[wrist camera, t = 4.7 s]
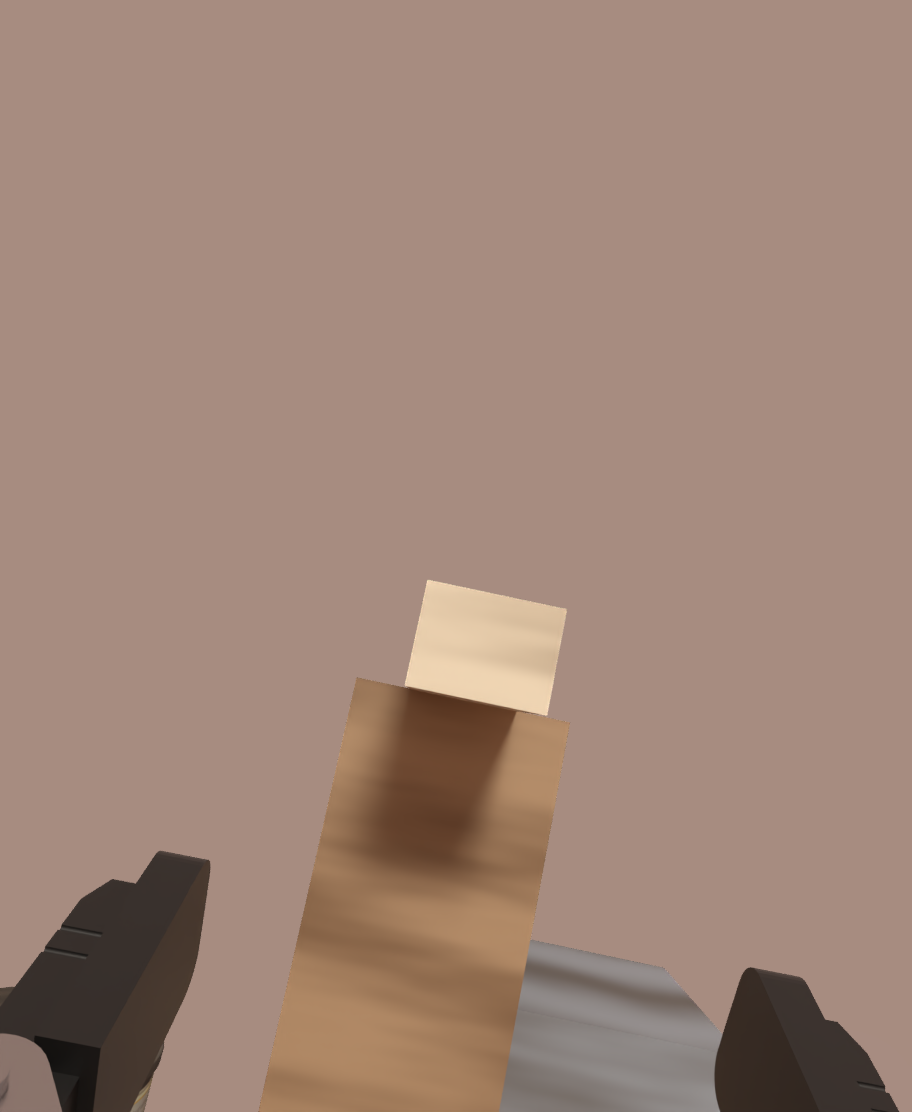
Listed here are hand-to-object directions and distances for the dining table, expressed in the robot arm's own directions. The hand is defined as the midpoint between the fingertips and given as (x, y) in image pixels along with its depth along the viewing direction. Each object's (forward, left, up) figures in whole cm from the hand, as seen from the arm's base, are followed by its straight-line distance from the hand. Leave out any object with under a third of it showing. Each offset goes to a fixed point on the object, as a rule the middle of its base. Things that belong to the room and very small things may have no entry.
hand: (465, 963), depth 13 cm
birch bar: (-14, +14, +4) cm, 21 cm away
